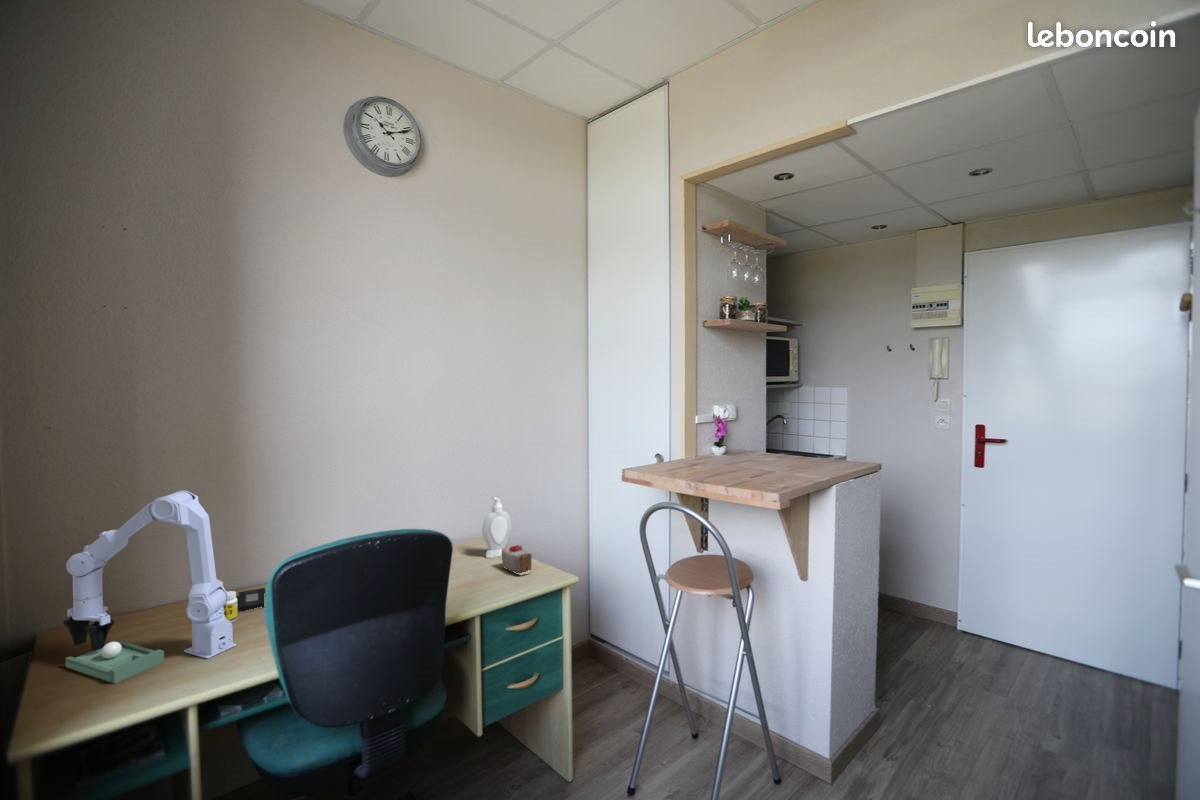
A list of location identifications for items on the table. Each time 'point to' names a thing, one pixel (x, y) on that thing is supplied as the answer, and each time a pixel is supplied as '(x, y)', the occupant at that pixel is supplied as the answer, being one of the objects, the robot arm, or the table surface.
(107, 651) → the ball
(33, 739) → the table surface
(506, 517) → the soap bottle
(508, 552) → the food item
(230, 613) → the supplement bottle
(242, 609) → the vhs tape
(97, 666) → the green tray
